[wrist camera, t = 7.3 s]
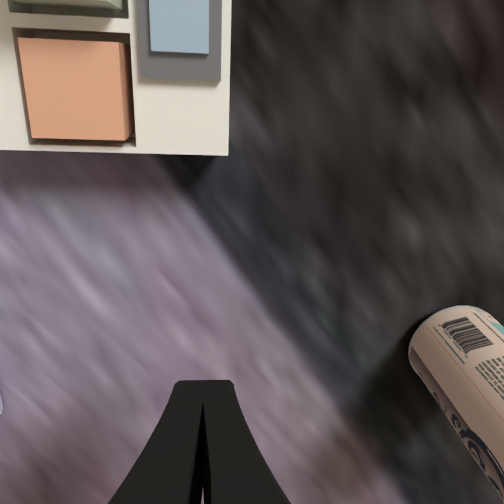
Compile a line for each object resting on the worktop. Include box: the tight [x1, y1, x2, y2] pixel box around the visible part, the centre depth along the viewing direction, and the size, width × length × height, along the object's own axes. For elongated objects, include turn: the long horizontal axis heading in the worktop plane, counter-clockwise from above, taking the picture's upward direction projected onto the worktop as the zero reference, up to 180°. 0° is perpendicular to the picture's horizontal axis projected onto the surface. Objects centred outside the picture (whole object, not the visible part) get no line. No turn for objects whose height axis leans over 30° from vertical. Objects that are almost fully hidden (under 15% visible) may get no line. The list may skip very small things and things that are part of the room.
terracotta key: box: [17, 37, 135, 141], centre depth 15 cm, size 3×3×2 cm
